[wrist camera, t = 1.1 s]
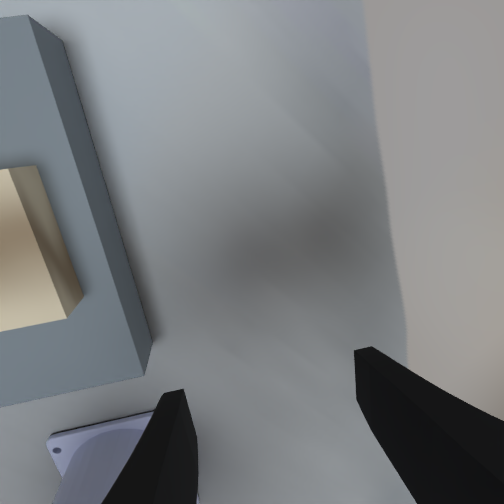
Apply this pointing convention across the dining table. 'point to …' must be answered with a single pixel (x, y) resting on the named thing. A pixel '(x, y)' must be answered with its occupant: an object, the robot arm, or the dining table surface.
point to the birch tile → (32, 255)
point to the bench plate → (65, 228)
